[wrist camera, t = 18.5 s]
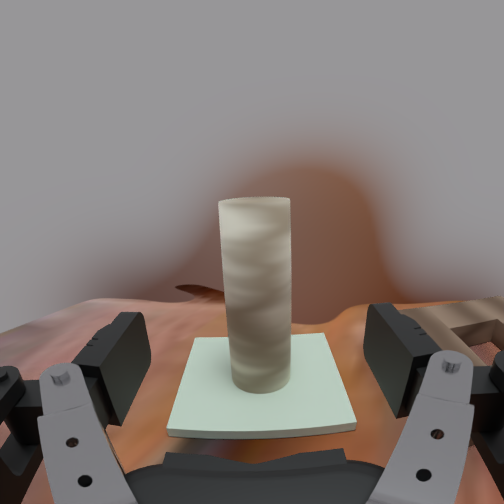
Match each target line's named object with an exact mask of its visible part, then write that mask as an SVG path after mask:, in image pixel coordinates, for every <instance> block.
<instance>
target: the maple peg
mask: <svg viewBox="0 0 504 504" xmlns="http://www.w3.org/2000/svg"><path fill="white" fill-rule="evenodd" d="M218 205H219V221H220V237H221V251H222V265H223V277H224V278H223V279H224V292H225V304H226V316H227V328H228V339H229V350H230V361H231V371H232V380H233V383H234V384H235V385H236V386H237V387H238V388H239V389H241V390H243V391H245V392H248V393H253V394H267V393H272V392H275V391H278V390H280V389H281V388H283V387H284V386H285V385H286V384H287V383H288V382H289V380H290V366H291V225H290V199H289V198H283V197H248V198H236V199H228V200H222V201H219V202H218Z"/></svg>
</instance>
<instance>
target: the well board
mask: <svg viewBox="0 0 504 504" xmlns="http://www.w3.org/2000/svg"><path fill="white" fill-rule="evenodd" d="M398 311H399V312H400V314H404V315H406V316H408V317H410V318H412V319H414V320H415V321H416V322H417V323H418V324H419V325H420V326H421V329H422V328H423V329H424V330H425V331H426V332H427V335H429V336H430V337H431V338H432V339H433V340H434V341H435V342H436V343H437V344H438V346H439V347H440V348H441V349H442V350H443V351H444V350H451V351H456V352H459V353H462V354H464V355H466V356H467V357H468V358H469V359H470V360H471V361H472V363H473V366H487V365H486V364H485V363H484V362H483V361H482V360H481V359H480V358H479V357H478V356H477V355H476V354H475V353H474V352H473V351H472V350H471V349H470V348H469V346H473V345H477V344H481V343H485V342H489V341H492V342H493V343H494V344H495V345H496V346H497V347H498V348H499V349H501V350H502V351H503V350H504V298H503V297H501V296H496V297H490V298H484V299H478V300H472V301H465V302H458V303H451V304H444V305H437V306H429V307H421V308H413V309H404V310H398ZM490 366H492V365H490ZM473 444H474V443H473V441H472V439H471V437H470V440H469V445H468V446H471V445H473Z"/></svg>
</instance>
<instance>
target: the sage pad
mask: <svg viewBox="0 0 504 504" xmlns="http://www.w3.org/2000/svg"><path fill="white" fill-rule="evenodd" d="M356 424H357V421H356V418H355V415H354V412H353V410H352V407H351V404H350V401H349V399H348V396H347V393H346V390H345V388H344V385H343V382H342V380H341V377H340V374H339V372H338V369H337V366H336V364H335V361H334V358H333V356H332V353H331V351H330V348H329V345H328V343H327V340H326V338H325V335H324V333H315V334H300V335H291V366H290V380H289V382H288V383H287V384H286V385H285V386H284V387H283V388H281V389H280V390H278V391H275V392H272V393H267V394H253V393H248V392H245V391H243V390H241V389H239V388H238V387H237V386H236V385H235V384H234V383H233V380H232V371H231V361H230V350H229V339H228V337H216V338H195V340H194V344H193V347H192V350H191V353H190V356H189V359H188V362H187V365H186V368H185V371H184V374H183V377H182V380H181V384H180V387H179V390H178V393H177V396H176V399H175V402H174V406H173V409H172V412H171V415H170V418H169V422H168V425H167V432H168V435H169V436H173V437H187V438H207V439H266V438H286V437H300V436H311V435H321V434H329V433H337V432H345V431H351V430H355V428H356Z"/></svg>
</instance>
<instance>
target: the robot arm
mask: <svg viewBox="0 0 504 504" xmlns="http://www.w3.org/2000/svg"><path fill="white" fill-rule="evenodd" d="M86 345H87V346H85V347H84V348H83V349H82V350H81V351H80V353H79V354H78V355H77V356H76V357H75V359H74V360H73V361H72V362H71V363H60V364H56V365H53V366H51V367H49V368H47V369H46V370H45V371H44V372H43V373H42V374H41V376H40V378H39V380H23V379H22V377H21V375H20V372H19V370H18V369H17V368H16V367H13V366H3V367H0V425H1V423H2V422H3V420H4V422H5V423H6V425H7V427H8V428H9V430H10V432H11V434H10V435H9V437H8V438H7V440H6V441H5V443H4V444H3V446H2V447H1V449H0V504H21V502H22V500H23V498H24V496H25V494H26V492H27V490H28V488H29V485H30V483H31V481H32V479H33V477H34V475H35V473H36V471H37V469H38V467H39V465H40V463H41V462H42V460H43V458H44V462H45V467H46V472H47V476H48V480H49V484H50V488H51V492H52V496H53V499H54V503H55V504H454V502H455V499H456V495H457V492H458V488H459V484H460V481H461V477H462V473H463V469H464V464H465V460H466V455H467V450H468V445H469V440H470V437H471V439H472V441H473V443H474V444H475V446H476V448H477V450H478V452H479V453H480V455H481V457H482V459H483V461H484V462H485V464H486V466H487V468H488V470H489V472H490V474H491V476H492V478H493V480H494V481H495V483H496V485H497V487H498V489H499V491H500V493H501V495H502V497H503V500H504V350H503V351H500V352H498V353H497V354H496V355H495V358H494V361H493V364H492V366H473V363H472V361H471V360H470V359H469V358H468V357H467V356H466V355H464V354H462V353H459V352H456V351H451V350H444V351H443V350H442V349H441V348H440V347H439V346H438V344H437V343H436V342H435V341H434V340H433V339H432V338H431V337H430V336H429V335H427V332H426V331H425V330H424V329H423V328H422V329H421V326H420V325H419V324H418V323H417V322H416V321H415V320H414V319H412V318H410V317H408V316H406V315H404V314H400V312H399V311H398V310H397V309H396V308H395V307H394V306H393V305H392V304H391V303H379V304H370V305H369V307H368V311H367V319H366V328H365V336H364V344H363V349H364V356H365V359H366V361H367V363H368V365H369V367H370V369H371V370H372V372H373V374H374V376H375V378H376V380H377V382H378V384H379V386H380V388H381V390H382V392H383V394H384V396H385V397H386V399H387V401H388V403H389V405H390V407H391V409H392V411H393V413H394V415H395V417H396V419H397V418H402V417H406V416H409V417H408V419H407V422H406V424H405V427H404V429H403V431H402V434H401V436H400V438H399V440H398V443H397V445H396V447H395V449H394V451H393V453H392V456H391V458H390V460H389V462H388V464H387V466H386V468H383V467H381V466H378V465H375V464H371V463H367V462H362V461H355V460H346V457H345V453H344V450H343V448H340V449H333V450H325V451H316V452H306V453H298V454H295V455H291V456H287V457H284V458H280V459H276V460H272V461H267V462H263V463H258V464H248V463H243V462H238V461H233V460H228V459H223V458H219V457H214V456H210V455H197V454H182V453H170V452H166V454H165V458H164V461H163V464H157V465H151V466H147V467H143V468H139V469H136V470H134V471H131V472H129V473H127V474H126V472H125V470H124V468H123V466H122V464H121V462H120V460H119V458H118V456H117V454H116V452H115V450H114V448H113V446H112V443H111V441H110V439H109V437H108V434H107V432H106V430H105V429H106V427H107V425H108V424H110V425H116V426H122V424H123V422H124V419H125V417H126V415H127V413H128V411H129V409H130V406H131V404H132V402H133V400H134V398H135V396H136V394H137V391H138V389H139V387H140V385H141V383H142V381H143V379H144V377H145V375H146V373H147V371H148V368H149V366H150V363H151V349H150V345H149V340H148V335H147V330H146V325H145V320H144V316H143V314H142V313H141V312H121V313H120V314H119V315H118V316H117V317H116V318H115V319H114V321H113V322H112V323H111V324H108V325H107V326H105V327H103V328H102V329H100V330H98V331H97V333H96V334H95V335H94V336H93V337H92V340H90V341H89V342H88V343H87V344H86Z"/></svg>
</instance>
